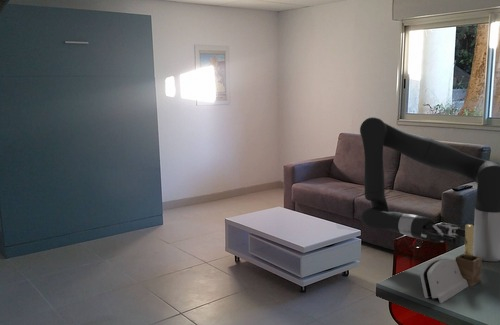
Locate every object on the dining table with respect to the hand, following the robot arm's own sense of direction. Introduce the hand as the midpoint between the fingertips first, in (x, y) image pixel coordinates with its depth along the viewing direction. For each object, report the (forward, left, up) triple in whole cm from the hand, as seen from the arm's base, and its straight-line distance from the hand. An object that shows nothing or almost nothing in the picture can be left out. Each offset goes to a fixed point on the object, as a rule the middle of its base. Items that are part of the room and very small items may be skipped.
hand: (463, 237), depth 140 cm
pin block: (0, +2, -13) cm, 14 cm away
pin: (0, +2, -11) cm, 11 cm away
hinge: (+12, 0, -14) cm, 18 cm away
